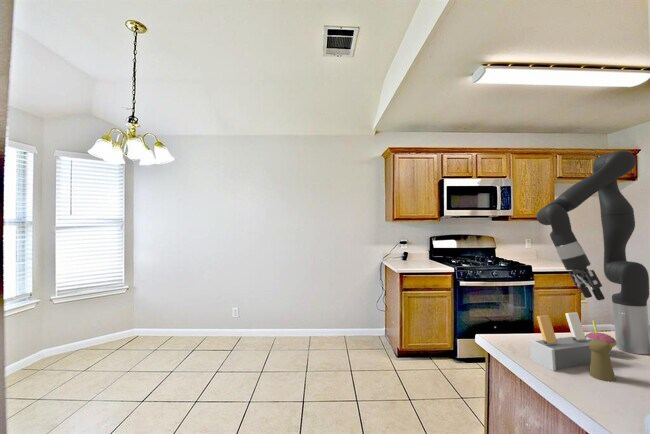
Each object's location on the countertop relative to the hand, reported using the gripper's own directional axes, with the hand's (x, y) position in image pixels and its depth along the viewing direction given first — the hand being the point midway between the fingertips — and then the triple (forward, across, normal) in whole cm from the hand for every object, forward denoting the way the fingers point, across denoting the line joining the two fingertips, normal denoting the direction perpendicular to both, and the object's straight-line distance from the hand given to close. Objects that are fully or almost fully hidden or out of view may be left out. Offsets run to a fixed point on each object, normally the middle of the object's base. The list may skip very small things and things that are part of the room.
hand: (594, 298), depth 106 cm
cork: (+20, -12, +13) cm, 27 cm away
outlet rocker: (+10, -6, +21) cm, 23 cm away
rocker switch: (+12, 0, +10) cm, 16 cm away
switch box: (+17, -2, +18) cm, 25 cm away
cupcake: (+21, +9, +3) cm, 23 cm away
